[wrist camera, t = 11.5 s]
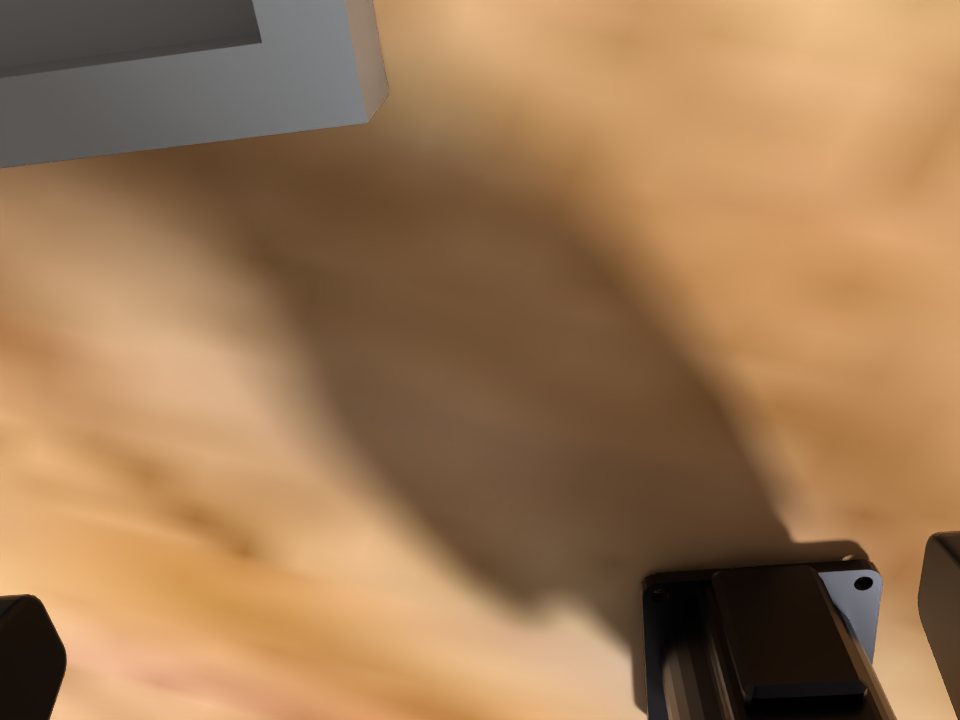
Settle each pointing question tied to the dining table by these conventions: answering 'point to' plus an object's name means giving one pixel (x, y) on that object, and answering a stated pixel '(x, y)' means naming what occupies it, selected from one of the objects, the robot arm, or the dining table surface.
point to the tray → (179, 73)
